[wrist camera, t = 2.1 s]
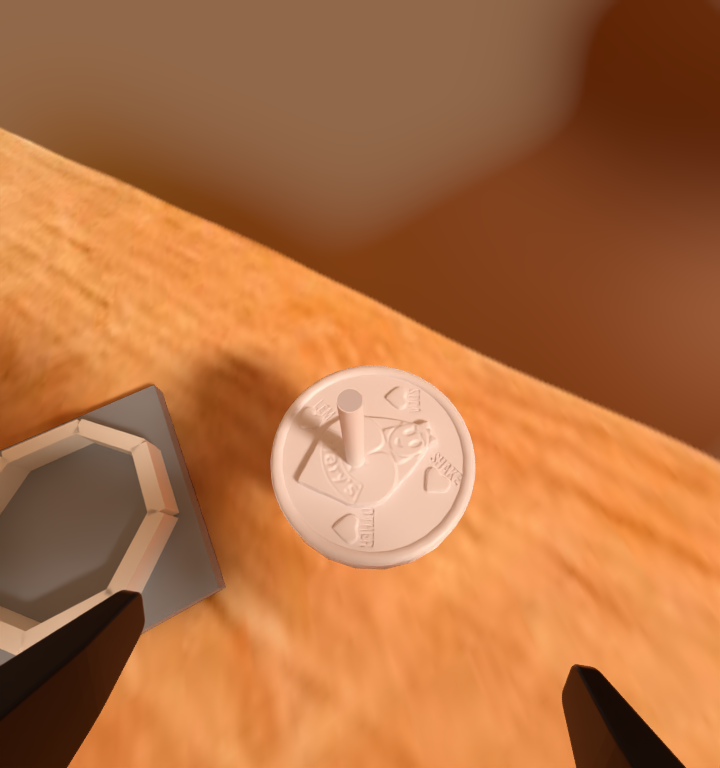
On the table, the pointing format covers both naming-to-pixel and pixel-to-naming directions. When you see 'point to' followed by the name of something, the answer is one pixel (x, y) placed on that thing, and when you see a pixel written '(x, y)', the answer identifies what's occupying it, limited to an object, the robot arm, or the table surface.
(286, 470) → the smoothie
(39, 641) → the robot arm
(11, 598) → the board
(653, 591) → the table surface
